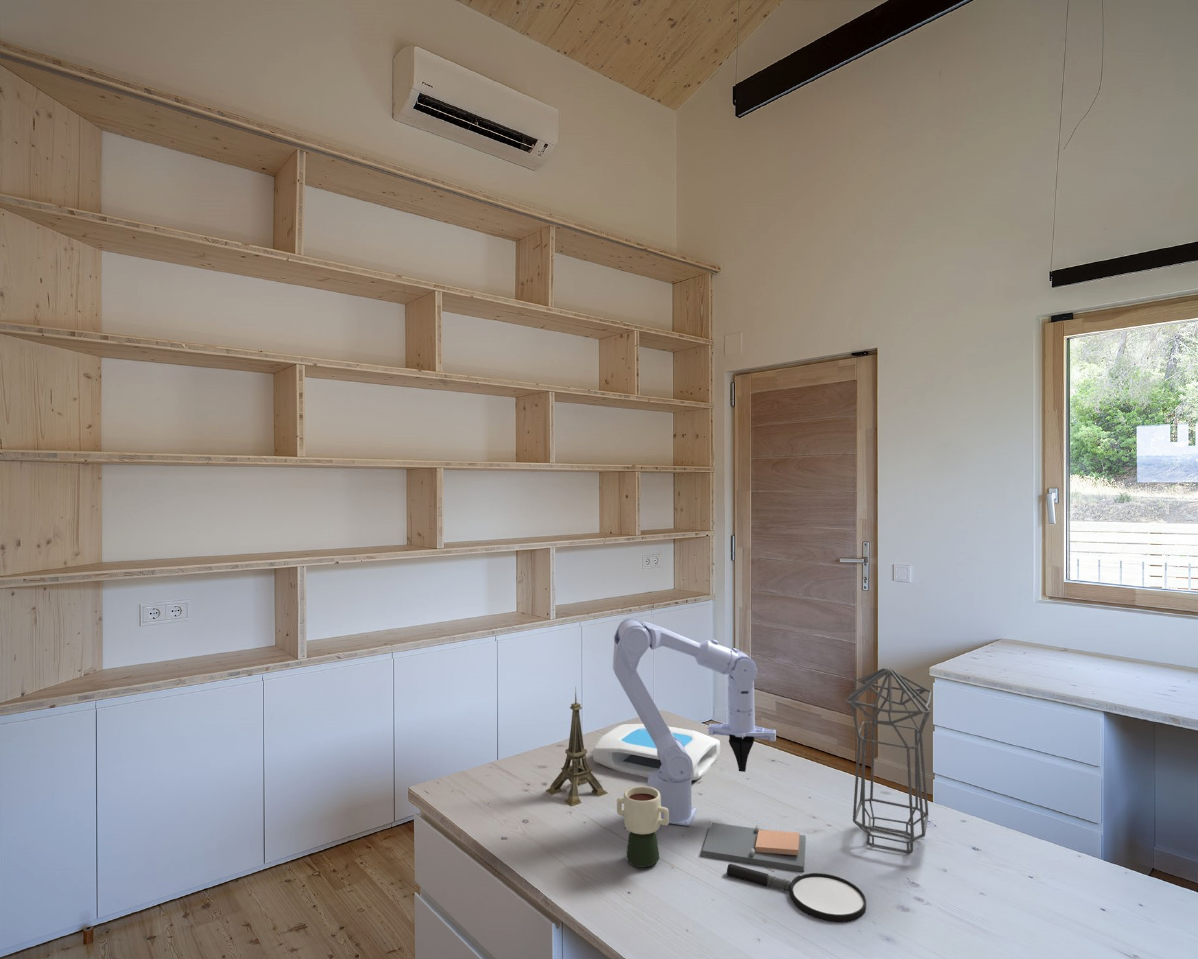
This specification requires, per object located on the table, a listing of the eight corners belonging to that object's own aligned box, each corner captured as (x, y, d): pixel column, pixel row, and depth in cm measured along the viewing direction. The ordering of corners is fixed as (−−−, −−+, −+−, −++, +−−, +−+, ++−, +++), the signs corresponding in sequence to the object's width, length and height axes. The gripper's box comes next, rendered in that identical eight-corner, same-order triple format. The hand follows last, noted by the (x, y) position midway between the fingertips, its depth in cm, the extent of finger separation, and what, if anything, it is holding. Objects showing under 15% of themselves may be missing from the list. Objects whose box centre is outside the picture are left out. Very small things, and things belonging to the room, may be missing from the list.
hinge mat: (702, 855, 132) (702, 845, 133) (712, 826, 144) (711, 817, 144) (803, 871, 126) (803, 861, 126) (805, 840, 138) (805, 831, 138)
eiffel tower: (571, 806, 154) (570, 696, 155) (545, 791, 162) (544, 686, 163) (607, 793, 161) (606, 687, 161) (580, 779, 169) (580, 678, 170)
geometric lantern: (934, 831, 141) (933, 663, 141) (931, 871, 127) (929, 684, 127) (854, 814, 148) (852, 655, 148) (842, 850, 134) (841, 673, 134)
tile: (798, 849, 129) (798, 855, 129) (799, 832, 136) (800, 837, 136) (755, 846, 132) (755, 852, 132) (758, 829, 138) (759, 834, 138)
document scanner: (693, 787, 164) (692, 761, 164) (592, 766, 177) (591, 742, 178) (721, 757, 182) (720, 734, 183) (627, 740, 196) (627, 718, 196)
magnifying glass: (738, 859, 132) (738, 848, 132) (870, 895, 120) (870, 883, 120) (717, 892, 121) (717, 880, 121) (860, 935, 109) (860, 922, 109)
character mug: (676, 859, 131) (675, 791, 132) (662, 877, 125) (661, 806, 125) (625, 846, 136) (624, 781, 137) (609, 863, 130) (608, 795, 130)
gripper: (705, 710, 149) (706, 772, 149) (773, 716, 145) (774, 781, 144) (711, 701, 156) (711, 760, 156) (776, 706, 151) (777, 768, 151)
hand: (742, 769), depth 150 cm, fingers closed
